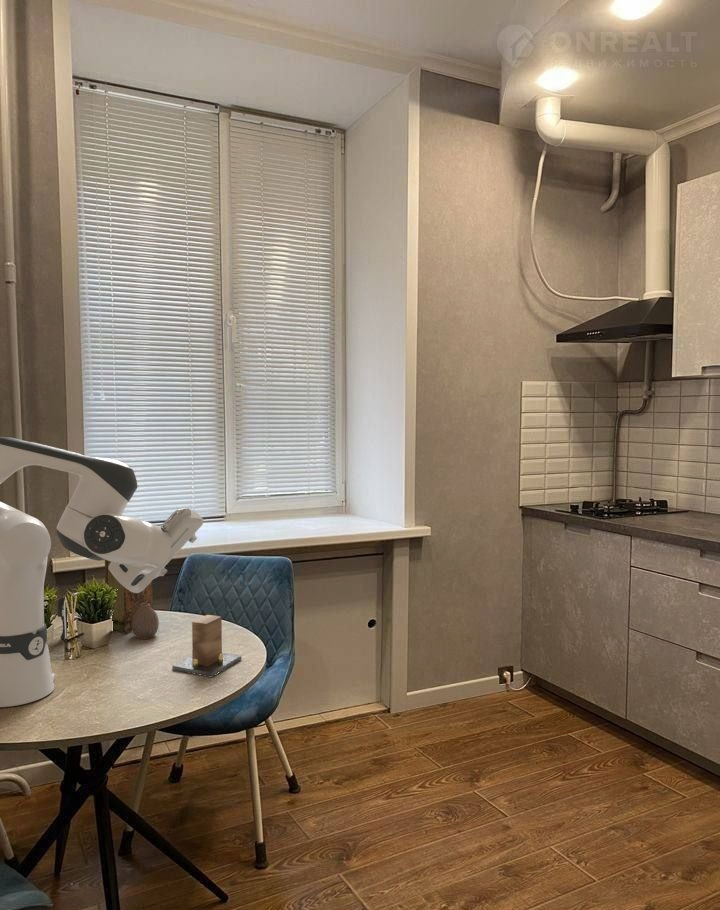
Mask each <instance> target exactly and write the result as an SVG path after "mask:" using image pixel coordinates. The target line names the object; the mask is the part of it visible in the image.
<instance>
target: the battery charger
mask: <svg viewBox="0 0 720 910" xmlns="http://www.w3.org/2000/svg"><path fill="white" fill-rule="evenodd" d="M70 593H71V594H74V595H76V594H77V593H78V592H70ZM66 595H67V594H64V595H62V596H60V597H59V598H58V600H57V606H56V607H57V611H56V613H57V617H59V618H60V619H61V621H62V633H61V635H60V639H61V640H64V641H66V640H65V638H66V636H67V628H68V622H67V608H66V603H65V596H66Z"/></svg>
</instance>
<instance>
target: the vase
mask: <svg viewBox="0 0 720 910" xmlns="http://www.w3.org/2000/svg"><path fill="white" fill-rule="evenodd" d="M159 622H160V619H159V617H158V614H157V612H156V611H155V609H152V608H151V606H150V604H149V603H142V604H140V606H139V608H138V610H137V611H136V612H135V614H134V616H133V618H132V631H131V632H132V633H133V635H134V636H135V638H137V639H140V640H147V639H151V638H153V637H154V636H155V635H156V634H157V632H158V631H159V624H160V623H159Z"/></svg>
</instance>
